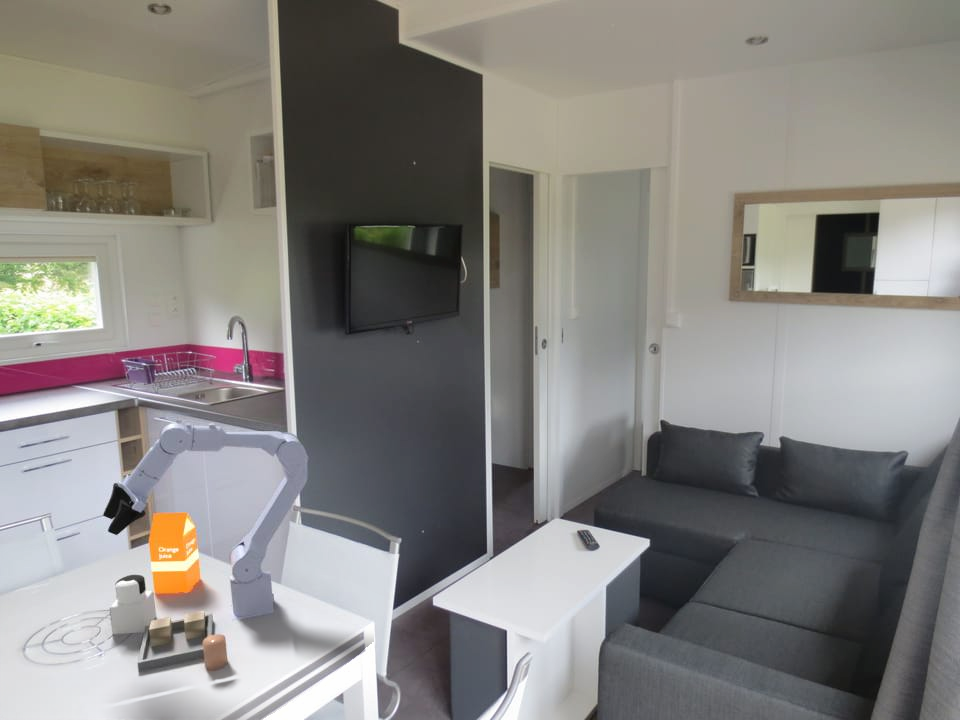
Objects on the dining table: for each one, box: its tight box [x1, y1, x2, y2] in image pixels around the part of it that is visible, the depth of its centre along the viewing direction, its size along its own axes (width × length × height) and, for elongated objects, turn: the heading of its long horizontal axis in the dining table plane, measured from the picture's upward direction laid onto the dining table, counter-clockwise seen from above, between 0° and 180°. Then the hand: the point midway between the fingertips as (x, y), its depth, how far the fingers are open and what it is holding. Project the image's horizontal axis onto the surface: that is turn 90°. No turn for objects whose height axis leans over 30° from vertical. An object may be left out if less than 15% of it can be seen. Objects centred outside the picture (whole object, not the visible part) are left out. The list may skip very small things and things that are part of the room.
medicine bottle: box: [109, 574, 157, 635], centre depth 156 cm, size 7×7×12 cm
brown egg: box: [203, 633, 229, 672], centre depth 141 cm, size 4×4×6 cm
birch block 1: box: [149, 616, 173, 647], centre depth 150 cm, size 4×4×4 cm
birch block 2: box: [184, 610, 206, 639], centre depth 153 cm, size 4×4×4 cm
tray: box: [137, 613, 214, 672], centre depth 148 cm, size 14×15×2 cm
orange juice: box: [148, 512, 202, 594], centre depth 175 cm, size 8×9×20 cm
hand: (109, 524), depth 148 cm, fingers open, 7 cm apart
